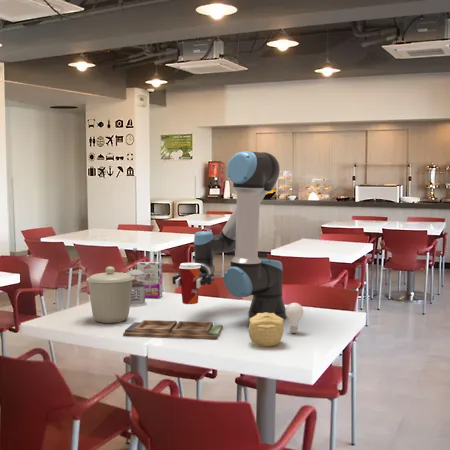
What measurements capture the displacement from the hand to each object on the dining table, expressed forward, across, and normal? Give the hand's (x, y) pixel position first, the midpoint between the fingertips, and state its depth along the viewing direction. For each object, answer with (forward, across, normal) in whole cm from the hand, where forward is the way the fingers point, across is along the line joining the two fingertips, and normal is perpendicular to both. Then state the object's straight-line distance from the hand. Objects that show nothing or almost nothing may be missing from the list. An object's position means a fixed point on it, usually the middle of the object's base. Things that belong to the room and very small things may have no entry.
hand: (187, 284), depth 206 cm
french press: (-48, +32, -18) cm, 61 cm away
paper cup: (-5, 0, -8) cm, 9 cm away
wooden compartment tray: (-4, +6, -18) cm, 19 cm away
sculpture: (+7, -28, -19) cm, 34 cm away
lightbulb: (-8, -37, -18) cm, 42 cm away
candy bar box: (-64, +32, -18) cm, 74 cm away
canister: (-18, +34, -18) cm, 43 cm away
